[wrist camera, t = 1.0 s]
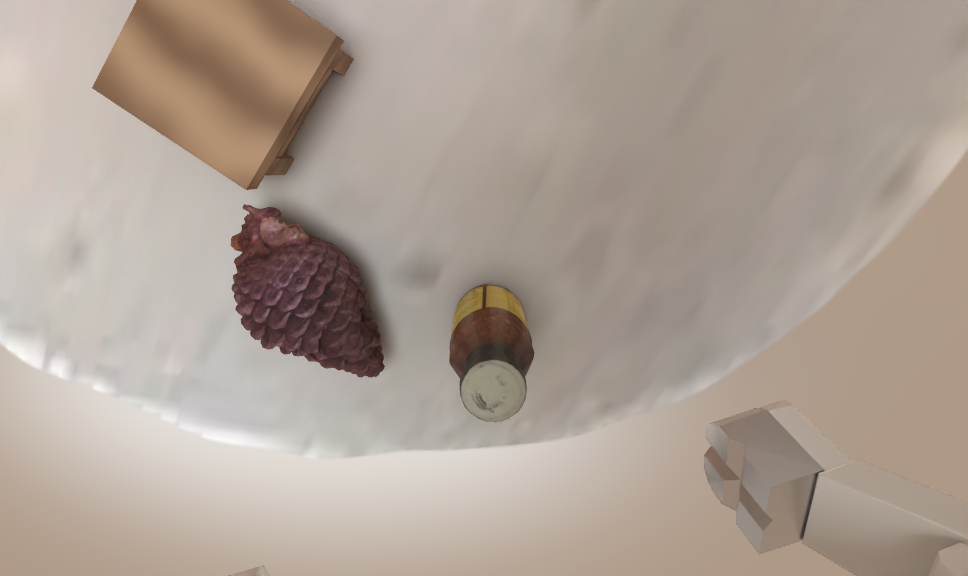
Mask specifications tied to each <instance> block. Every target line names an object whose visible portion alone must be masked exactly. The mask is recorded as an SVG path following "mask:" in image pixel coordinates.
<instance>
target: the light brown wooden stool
mask: <svg viewBox="0 0 968 576" xmlns="http://www.w3.org/2000/svg"><path fill="white" fill-rule="evenodd" d="M342 43H343V40H342V39H341V38H339V37H338V36H337V35H335V34H334V33H333V32H331V31H330V30H328V29H327V28H325V27H324V26H322V25H321V24H320V23H318V22H317V21H315V20H314V19H312V18H311V17H309V16H308V15H307V14H305V13H304V12H302V11H301V10H299V9H298V8H296V7H295V6H294V5H292V4H291V3H289V2H288V1H286V0H137V1H136V3H135V5H134V7H133V9H132V11H131V13H130V15H129V17H128V19H127V21H126V23H125V25H124V27H123V29H122V31H121V33H120V34H119V36H118V38H117V40H116V42H115V44H114V46H113V48H112V50H111V52H110V54H109V56H108V58H107V60H106V62H105V64H104V66H103V68H102V70H101V71H100V73H99V75H98V77H97V79H96V81H95V83H94V85H93V87H92V88H93V89H94V90H96V91H97V92H99V93H100V94H102V95H103V96H105V97H106V98H108V99H109V100H111V101H112V102H114V103H115V104H117V105H119V106H120V107H122V108H123V109H125V110H126V111H128V112H129V113H131V114H132V115H134V116H135V117H137V118H138V119H140V120H141V121H143V122H144V123H146V124H147V125H149V126H150V127H152V128H153V129H155V130H156V131H158V132H159V133H161V134H162V135H164V136H165V137H167V138H168V139H170V140H172V141H173V142H175V143H176V144H178V145H179V146H181V147H182V148H184V149H185V150H187V151H188V152H190V153H191V154H193V155H194V156H196V157H197V158H199V159H200V160H202V161H203V162H205V163H206V164H208V165H209V166H211V167H212V168H214V169H215V170H217V171H218V172H220V173H222V174H223V175H225V176H226V177H228V178H229V179H231V180H232V181H234V182H235V183H237V184H238V185H240V186H241V187H243V188H244V189H246V190H249V189H257V187H258V186H259V184H260V182H261V181H262V179H263V177H264V175H282V174H285V173H286V172H287V170H288V168H289V167H290V165H291V163H292V162H293V160H294V159H293V158H292V157H290V156H289V155H287V154H286V153H284V152H285V150H286V148H287V147H288V145H289V143H290V142H291V140H292V138H293V136H294V135H295V133H296V131H297V130H298V128H299V126H300V125H301V123H302V121H303V120H304V118H305V116H306V114H307V113H308V111H309V109H310V108H311V106H312V104H313V103H314V101H315V99H316V98H317V96H318V94H319V92H320V91H321V89H322V87H323V86H324V84H325V82H326V81H327V79H328V77H329V76H330V74H331V72H332V70H334V71H336V72H338V73H340V74H342V75H344V74H345V73H346V71H347V69H348V68H349V66H350V64H351V63H352V61H353V58H351V57H350V56H348V55H347V54H345V53H344V52H342V51H341V50H340V49H339V48H340V46H341V45H342Z"/></svg>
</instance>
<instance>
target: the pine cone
mask: <svg viewBox="0 0 968 576" xmlns="http://www.w3.org/2000/svg"><path fill="white" fill-rule="evenodd" d="M243 209H245V210H247V211H249V212H250V213H249V215H247V216H246V217H245V218H244V220H245V224H243V225H242V231H241V233H239V234H237V235H235V236H232V239H231V246H232V247H233V248H234V249H235V250H237V251H242V254H241V255H240V256H239V257H237V258H236V259H235V260H234V263H235V265H236V268H237V274H235V275H233V279H234V282H235V283H234V284H233V285H232V291H233V292H234V293H235V295H234V298H235V301H236V302H237V303H238V305H237V306H236V311H237V312H238V313H239V314H240V315H242V316H243V317H242V319H241V324H242V325H243V326H244V328H245V329H246V330H251V333H250V334H251V336H252V337H253V338H254V339H255V340H260V339H261V344H262V347H263V348H266V349H272V348H274V347H275V346H278V347H280V351H281V352H282V353H283V354H290V353H291V352H292V353H293V355H294V356H305V357H306V358H307V360H308V361H315V362H319V363H320V364H321V366H322V367H324V368H336V369H337V370H342V369H343V370H345V371H346V372H351V373H352V374H357V376H358V377H363V376H368V377H373V376H374V377H376V376H378V375H379V373H380V372H381V371H383V369H384V367H385V366H384V364H383V363H382V362H383V359H384V357H383V354H382V353H381V350H382V347H381V345H380V334H379V333H378V331H377V329H378V326H377V325H376V323H374V322H373V321H372V317H371V311H370V310H369V308H368V307H369V302H368V301H367V300H366V299H365V298H364V295H365V291H366V290H365V289H364V287H363V286H362V281H361V279H360V278H359V275H358V272H357V269H356V267H355V266H353V265H351V264H350V263H349V261H348V259H347V256H345V255H344V253H342V252H341V251H339V250H337V249H336V248H335V247H334V246H333V244H332V243H326V242H323V241H321V240H320V239H319V238H310V237H309V235H307V234H306V233H305V232H304V231H303V229H302V227H301V225H300V223H293V224H290V225H287V224H286V223H285V222H283V221H279V219H278V218H279V216H280V215H281V212H280V210H278V209H276V208H273V207H267V208H264V209H257V208H254V207H252V206H250V205H248V206H247V205H244V206H243Z"/></svg>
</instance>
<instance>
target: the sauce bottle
mask: <svg viewBox="0 0 968 576" xmlns="http://www.w3.org/2000/svg"><path fill="white" fill-rule="evenodd" d="M533 357H534V350H533V347H532V340H531V335H530V332H529V329H528V326H527V322H526V318H525V315H524V311H523V308H522V306H521V303H520V302H519V301H518V299H517V298H516V297H515V296H514V295H513V294H512V293H511V292H510V291H509V290H508V289H504V288H502V287H499V286H493V285H481V286H478V287H475V288H474V289H472V290H471V291H470V292H468V293H467V294H466V295H465V296H464V297H463V298H462V299H461V301H460V302H459V304H458V306H457V309H456V312H455V316H454V322H453V328H452V335H451V340H450V359H449V360H450V365H451V366H452V367H453V369H454V370H455V372H456V373H457V374H458V376H459V377H460V394H461V398H462V401H463V404H464V406H465V408H466V409H467V410H468V411H469V412H470V413H471V414H473V415H474V416H476V417H477V418H479V419H482V420H484V421H491V422H499V421H503V420H506V419H509V418H510V417H511V416H513V415H514V414H515V413H517V412H518V411H519V410H520V408H521V407H522V405H523V403H524V401H525V398H526V390H527V387H526V379H525V375H526V374H527V372H528V370H529V367H530V365H531V362H532V360H533Z"/></svg>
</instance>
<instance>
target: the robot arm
mask: <svg viewBox="0 0 968 576" xmlns="http://www.w3.org/2000/svg"><path fill="white" fill-rule="evenodd" d="M706 439H707V440H708V441H709V443H710V444H711V445H712V446H711V447H710V448H709V450H708V451H707V452H706V454H705V455H704V469H705V473H706V476H707V480H708V482H709V484H710V486H711V488H712V490H713V492H714V494H715V495H716V497H717V498H718V499H719V501H720V502H721V504H723V505H725V506H727V507H729V508H731V509H733V510H735V511H737V515H736V516H737V517H736V524H737V525H738V527H739V528H740V529H741V531H742V532H743V534H744V535H745V536H746V538H747V539H748V540H749V541H750V543H751V544H752V545H753V547H754V548H755V549H756V551H757V552H758V554H762V553H765V552H768V551H771V550H774V549H777V548H780V547H783V546H787V545H790V544H793V543H796V542H799V541H802V540H803V542H802V543H803V544H805V545H806V546H808V547H809V548H811V549H813V550H814V551H816V552H818V553H819V554H821V555H823V556H824V557H826V558H828V559H829V560H831V561H833V562H834V563H836V564H838V565H839V566H841V567H843V568H844V569H846V570H848V571H849V572H851V573H853V574H854V575H856V576H968V502H967V501H964V500H962V499H959V498H957V497H954V496H952V495H949V494H946V493H944V492H941V491H939V490H936V489H934V488H931V487H929V486H926V485H923V484H921V483H918V482H916V481H913V480H911V479H908V478H906V477H903V476H900V475H898V474H895V473H893V472H890V471H888V470H885V469H883V468H880V467H877V466H875V465H872V464H870V463H867V462H865V461H862V460H856V461H853V462H852V461H851V460H850V459H849V458H848V457H847V456H846V455H845V454H844V453H843V452H842V451H841V450H840V449H839V448H838V447H836V446H835V445H834V444H833V443H832V442H831V441H830V440H829V439H828V438H827V437H826V436H825V435H824V434H823V433H822V432H821V431H820V430H819V429H818V428H817V427H816V426H815V425H814V424H812V423H811V422H810V421H809V420H808V419H807V418H806V417H805V416H804V415H803V414H802V413H801V412H800V411H799V410H798V409H797V408H796V407H795V406H794V405H793V404H792V403H790V402H787V401H785V400H783V401H779V402H776V403H773V404H770V405H767V406H764V407H760V408H758V409H757V408H755V409H752V410H749V411H746V412H743V413H740V414H737V415H734V416H731V417H728V418H725V419H722V420H719V421H716V422H713V423H710V425H709V426H708V428H707V432H706ZM230 576H270V575H269V573H268V572H267V570H266V569H265V567H264V566H261V567H257V568H254V569H250V570H247V571H243V572H240V573H236V574H233V575H230Z"/></svg>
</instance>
